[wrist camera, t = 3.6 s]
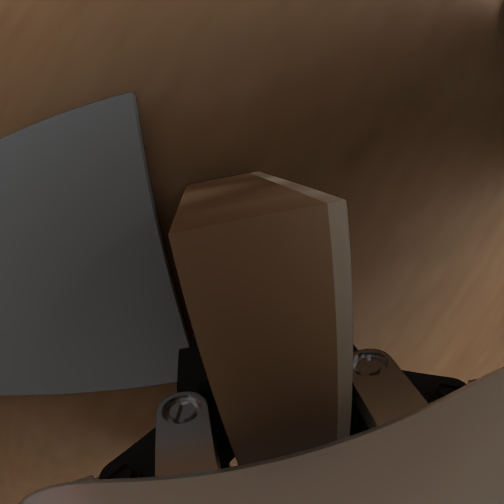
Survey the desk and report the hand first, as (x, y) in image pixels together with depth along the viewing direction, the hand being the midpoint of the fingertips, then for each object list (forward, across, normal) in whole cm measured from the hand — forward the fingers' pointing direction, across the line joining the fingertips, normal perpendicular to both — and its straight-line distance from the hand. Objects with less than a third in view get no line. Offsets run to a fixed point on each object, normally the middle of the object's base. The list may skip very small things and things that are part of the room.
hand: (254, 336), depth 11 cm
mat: (+1, +10, -4) cm, 11 cm away
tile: (+1, 0, 0) cm, 1 cm away
